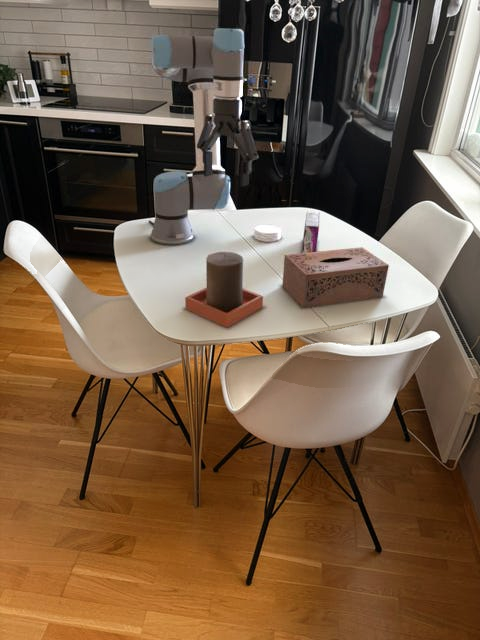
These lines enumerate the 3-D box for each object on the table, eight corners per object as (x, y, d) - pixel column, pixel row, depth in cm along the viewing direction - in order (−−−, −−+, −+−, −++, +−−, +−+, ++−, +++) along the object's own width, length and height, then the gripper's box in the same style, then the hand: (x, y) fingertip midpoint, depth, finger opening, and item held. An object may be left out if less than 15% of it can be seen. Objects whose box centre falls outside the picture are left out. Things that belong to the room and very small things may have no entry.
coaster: (261, 243, 176) (261, 234, 175) (249, 234, 184) (250, 225, 183) (285, 240, 180) (285, 231, 178) (273, 231, 188) (273, 223, 186)
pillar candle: (235, 316, 127) (236, 263, 119) (200, 309, 129) (200, 257, 122) (246, 300, 135) (248, 249, 127) (214, 294, 137) (214, 244, 130)
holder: (185, 308, 132) (185, 297, 130) (221, 290, 142) (222, 280, 140) (227, 327, 123) (227, 315, 122) (262, 307, 134) (263, 296, 132)
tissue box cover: (302, 307, 134) (306, 274, 129) (282, 285, 146) (284, 254, 141) (382, 296, 142) (388, 265, 137) (357, 276, 153) (362, 247, 148)
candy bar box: (300, 256, 167) (303, 240, 181) (315, 257, 166) (316, 241, 181) (304, 224, 161) (306, 211, 176) (319, 226, 161) (320, 212, 175)
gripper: (183, 93, 129) (185, 174, 140) (256, 104, 116) (252, 192, 127) (202, 92, 134) (203, 169, 145) (274, 102, 121) (269, 186, 132)
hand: (225, 180), depth 136 cm, fingers open, 13 cm apart
